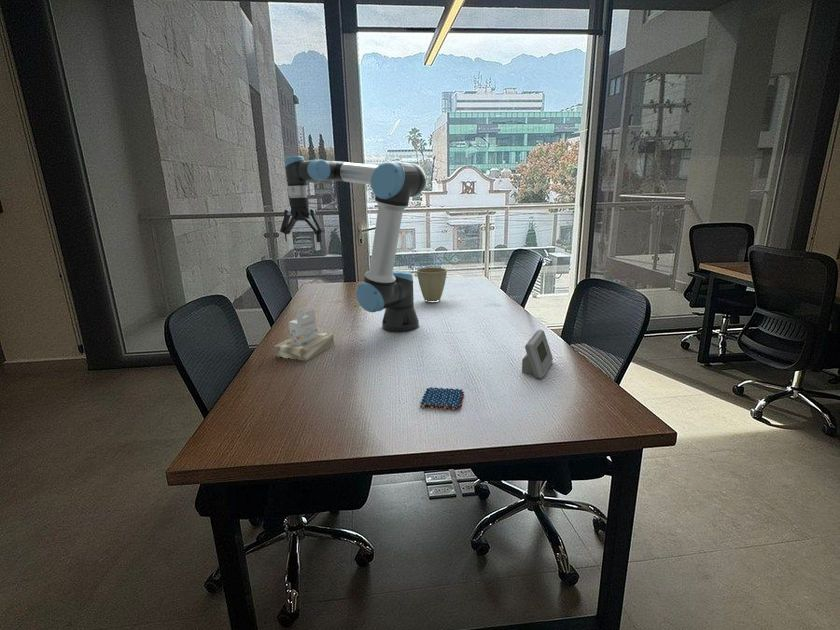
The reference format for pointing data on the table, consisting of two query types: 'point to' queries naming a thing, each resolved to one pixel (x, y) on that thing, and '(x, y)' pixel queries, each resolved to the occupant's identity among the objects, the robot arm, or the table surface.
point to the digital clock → (537, 355)
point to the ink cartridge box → (303, 329)
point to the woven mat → (442, 398)
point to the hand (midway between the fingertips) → (304, 249)
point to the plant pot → (432, 282)
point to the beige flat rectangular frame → (304, 348)
